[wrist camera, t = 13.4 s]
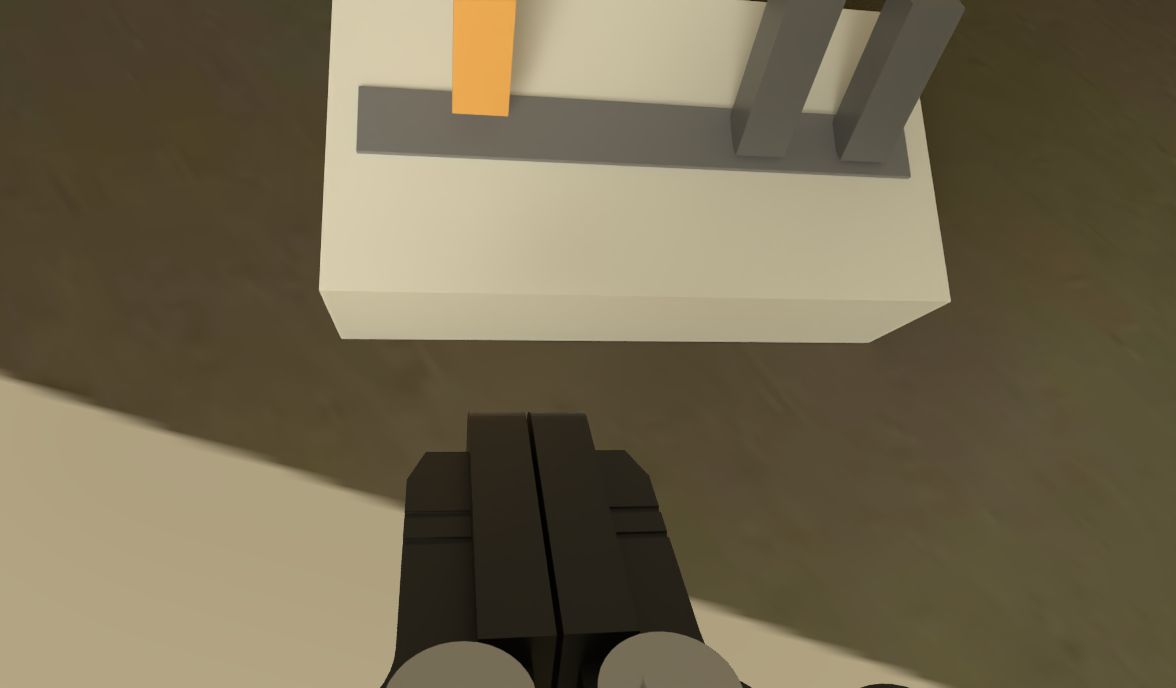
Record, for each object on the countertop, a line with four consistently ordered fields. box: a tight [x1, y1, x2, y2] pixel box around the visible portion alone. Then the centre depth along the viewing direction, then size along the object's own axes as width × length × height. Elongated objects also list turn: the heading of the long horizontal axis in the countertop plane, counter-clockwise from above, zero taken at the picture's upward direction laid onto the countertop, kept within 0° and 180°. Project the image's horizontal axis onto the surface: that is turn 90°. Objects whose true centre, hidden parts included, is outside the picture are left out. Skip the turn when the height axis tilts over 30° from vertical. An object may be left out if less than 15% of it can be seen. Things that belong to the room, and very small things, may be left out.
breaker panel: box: [319, 0, 965, 343], centre depth 29 cm, size 22×12×12 cm, turn 92°
